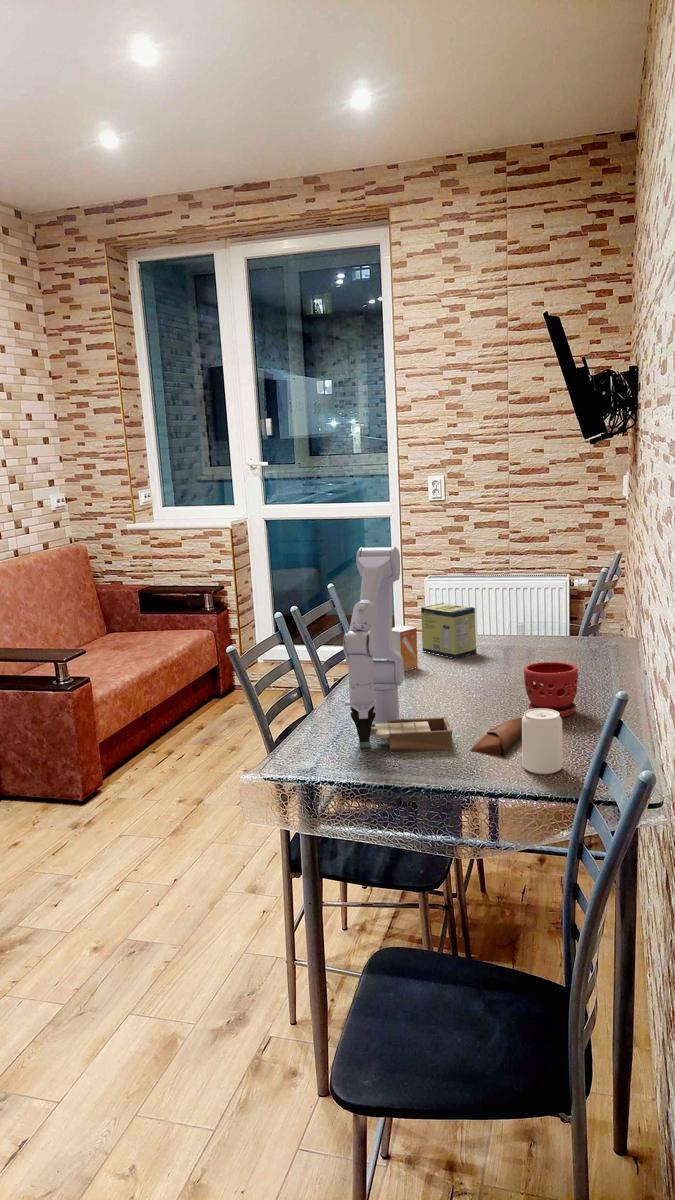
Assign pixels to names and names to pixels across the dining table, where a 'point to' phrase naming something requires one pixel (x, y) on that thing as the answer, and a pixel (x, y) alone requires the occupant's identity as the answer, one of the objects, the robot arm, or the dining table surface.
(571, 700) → the plant pot
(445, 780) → the dining table surface
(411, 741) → the brown wooden flat box
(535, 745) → the beverage can
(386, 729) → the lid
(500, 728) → the sunglasses case
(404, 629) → the small box
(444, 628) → the protein box
